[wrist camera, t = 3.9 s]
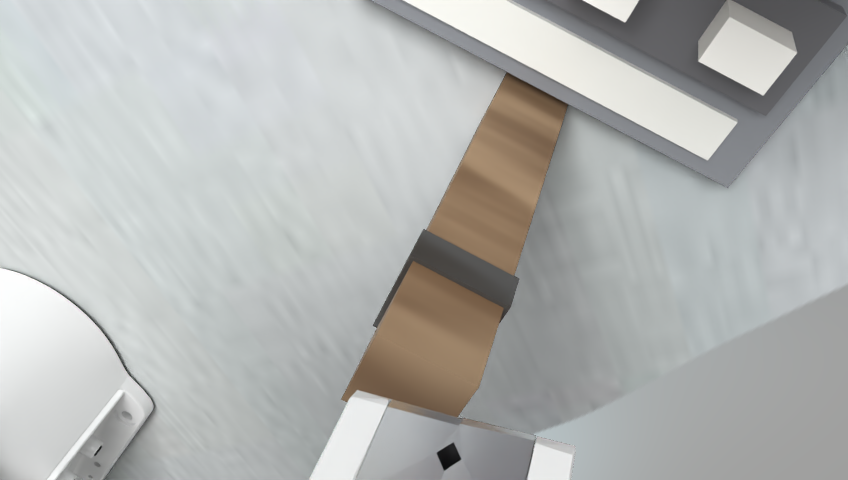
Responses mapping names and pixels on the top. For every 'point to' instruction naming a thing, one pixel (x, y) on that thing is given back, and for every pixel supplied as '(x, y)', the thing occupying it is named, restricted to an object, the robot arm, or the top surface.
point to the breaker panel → (657, 63)
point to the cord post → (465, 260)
